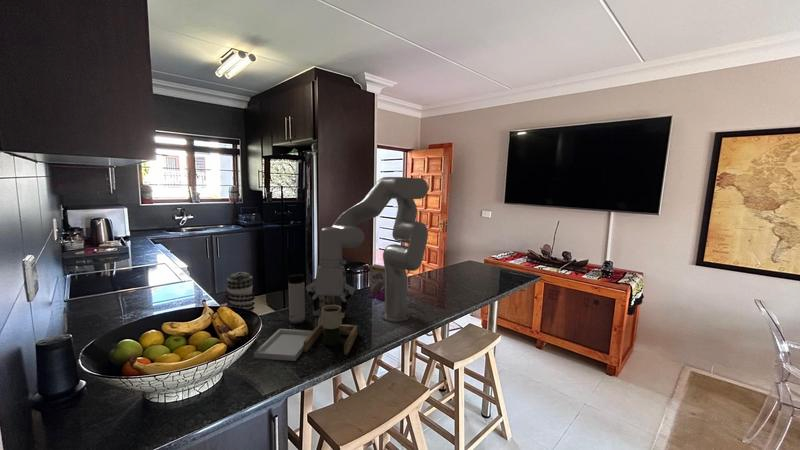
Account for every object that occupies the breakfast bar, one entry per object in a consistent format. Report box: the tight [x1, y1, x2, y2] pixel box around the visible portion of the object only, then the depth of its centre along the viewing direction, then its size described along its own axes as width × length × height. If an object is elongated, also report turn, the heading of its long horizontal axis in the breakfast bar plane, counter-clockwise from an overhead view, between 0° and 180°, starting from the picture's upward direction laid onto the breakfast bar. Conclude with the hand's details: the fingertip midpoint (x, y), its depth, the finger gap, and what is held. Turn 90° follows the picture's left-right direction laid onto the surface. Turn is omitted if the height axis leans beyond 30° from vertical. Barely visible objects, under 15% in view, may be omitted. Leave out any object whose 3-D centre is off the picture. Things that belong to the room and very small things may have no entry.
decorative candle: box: [225, 271, 256, 313], centre depth 115 cm, size 9×9×25 cm
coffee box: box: [312, 277, 335, 317], centre depth 144 cm, size 9×6×16 cm
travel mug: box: [288, 273, 306, 324], centre depth 134 cm, size 6×7×20 cm
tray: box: [253, 328, 313, 362], centre depth 114 cm, size 14×18×2 cm
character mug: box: [317, 304, 345, 346], centre depth 116 cm, size 11×7×13 cm, turn 136°
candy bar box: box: [368, 263, 385, 302], centre depth 163 cm, size 11×5×16 cm, turn 58°
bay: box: [303, 324, 359, 356], centre depth 117 cm, size 15×15×4 cm
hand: (330, 310), depth 115 cm, fingers open, 9 cm apart
